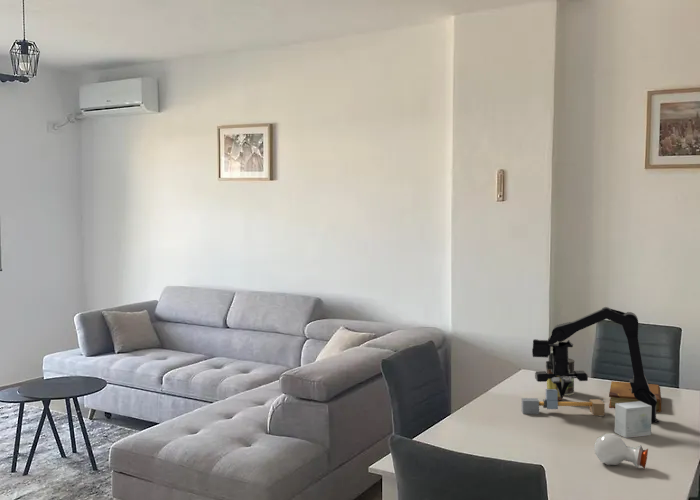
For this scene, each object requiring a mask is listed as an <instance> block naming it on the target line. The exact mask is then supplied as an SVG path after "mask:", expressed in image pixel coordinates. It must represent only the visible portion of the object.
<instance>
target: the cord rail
mask: <svg viewBox="0 0 700 500" xmlns="http://www.w3.org/2000/svg"><path fill="white" fill-rule="evenodd" d="M605 405H606V404H605V403H604V401H602V399H591V398H590V399H589V401H558V407H589V412H590V413H591V414H592V416H595V417H596V416H597V417H599V416H605V410H606V409H605V407H606V406H605ZM540 407H543V409H547V401H546V399H545V398H544V399H542V401H540V400H539V398H535V397H529V398H528V397H524V398H523V397H522V398H521V412H522V414H523V415H540Z"/></svg>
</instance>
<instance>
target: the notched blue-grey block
mask: <svg viewBox="0 0 700 500" xmlns="http://www.w3.org/2000/svg"><path fill="white" fill-rule="evenodd" d="M544 399H546V401H547V408H546V409H547V410H558V409H559V406H558V402H559V401H558V391H557V390H556V389H547V388H546V389H545V397H544Z"/></svg>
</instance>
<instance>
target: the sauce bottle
mask: <svg viewBox="0 0 700 500" xmlns="http://www.w3.org/2000/svg"><path fill="white" fill-rule="evenodd" d="M548 361H551V363H553V350H551V355H549V356H548ZM546 373H547V374H553V373H552V372H551V370H547V369H546ZM560 381H561V378H560ZM546 389H556V390H557V391H558V388H557V386H556V384H554V383H553V382H552V381H551V379H548V380H547V381H546ZM563 399H564V397H563V398H561V397H560V394H559V391H558V402H561V401H563Z"/></svg>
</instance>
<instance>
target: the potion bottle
mask: <svg viewBox="0 0 700 500" xmlns="http://www.w3.org/2000/svg"><path fill="white" fill-rule="evenodd" d="M593 448H594V449H593V450H594V455H595V456H596V458H597V459H598V460H599V462H601V463H603V464H605V466H618V465H619V464H620V463H622V462H624V461H625V462H630V463H632V464H633V465H634V467H635V468H636V469H638V468H640V467H641V468H643V469H644V470H646V465H647V461H648V454H649V448H645V449H643V447H642V445H641V444H640V445H638V446H636V447H633V446H629V445H627V444H626V443H625V441H624V440H623V438H622V437H621V436H620V435H618V434H616V433H615V432H614V433H604V434H601V435H600V436H599V437H597V438H596V440H595V443H594V445H593Z"/></svg>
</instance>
